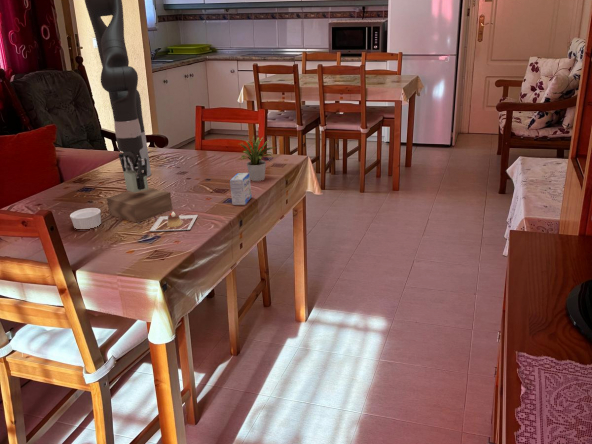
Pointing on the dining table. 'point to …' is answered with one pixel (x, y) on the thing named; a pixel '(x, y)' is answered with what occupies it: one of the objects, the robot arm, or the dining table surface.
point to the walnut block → (139, 204)
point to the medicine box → (240, 189)
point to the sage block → (133, 181)
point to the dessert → (173, 222)
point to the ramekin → (86, 218)
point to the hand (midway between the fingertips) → (137, 187)
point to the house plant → (256, 160)
